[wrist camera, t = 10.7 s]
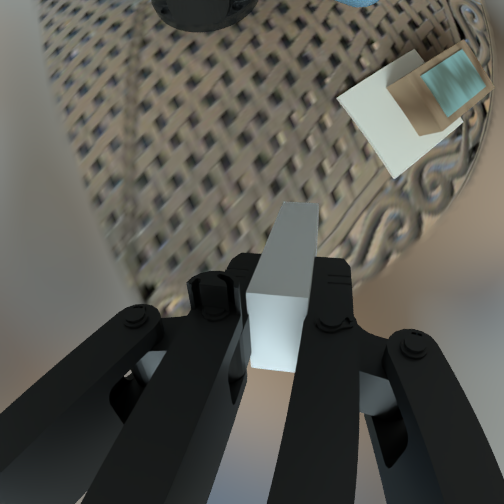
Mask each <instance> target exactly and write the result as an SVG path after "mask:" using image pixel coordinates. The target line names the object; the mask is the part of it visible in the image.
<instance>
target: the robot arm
mask: <svg viewBox="0 0 504 504" xmlns="http://www.w3.org/2000/svg"><path fill="white" fill-rule="evenodd" d="M151 1H152V4H153V7H154V9H155V10H156V12H157V14H158V15H159V17H160V18H161V19H162V20H163V21H164V22H165V23H167V24H168V25H170V26H172V27H174V28H176V29H179V30H183V31H188V32H208V31H215V30H219V29H222V28H225V27H228V26H231V25H233V24H235V23H237V22H238V21H240V20H242V19H243V18H244V17H246V16H247V15H248V14H249V13H250V12H251V11H252V10H253V9H254V7H255V6H256V4H257V2H258V0H151ZM335 1H338V2H341V3H344V4H346V5H349V6H352V7H367V6H370V5H372V4H374V3H376V2H377V1H379V0H335ZM318 215H319V203H300V202H283V204H282V206H281V209H280V211H279V213H278V216H277V218H276V221H275V223H274V226H273V228H272V231H271V233H270V235H269V238H268V240H267V243H266V245H265V248H264V250H263V252H262V254H254V253H240V254H239V255H237V256H236V257H235V258H233V259H232V260H231V262H230V263H229V265H228V267H227V270H225V272H223V271H208V272H204V273H200V274H198V275H196V276H194V277H192V278H191V279H190V280H189V281H188V282H187V289H188V294H189V299H190V304H191V311H190V312H189V314H188V315H187V316H181V317H171V318H161V316H160V313H159V311H158V309H157V308H155V307H153V306H152V305H147V304H137V305H133V306H130V307H127V308H125V309H123V310H122V311H120V312H119V313H118V314H116V315H115V316H114V317H113V318H111V319H110V320H109V321H108V322H107V323H105V324H104V325H103V326H102V327H100V328H99V329H98V330H97V331H96V332H94V333H93V334H92V335H91V336H90V337H88V338H87V339H86V340H85V341H84V342H82V343H81V344H80V345H79V346H78V347H76V348H75V349H74V350H73V351H72V352H70V354H68V355H67V356H66V357H65V358H63V359H62V360H61V361H60V362H59V363H58V364H56V365H55V366H54V367H53V368H52V369H51V370H49V371H48V372H47V373H46V374H45V375H44V376H42V377H41V378H40V379H39V380H38V381H37V382H36V383H34V385H32V386H31V387H30V388H29V389H28V390H26V391H25V392H24V393H23V394H22V395H21V396H20V397H19V398H18V399H16V400H15V401H14V402H13V403H12V404H11V405H10V406H9V407H7V408H6V409H5V410H4V411H3V412H2V413H1V414H0V504H75V503H76V502H77V501H78V500H79V499H80V498H81V497H82V496H83V495H84V494H85V492H86V491H87V490H88V491H87V493H86V495H85V497H84V499H83V500H82V502H81V504H206V503H207V500H208V498H209V495H210V492H211V489H212V486H213V483H214V480H215V477H216V474H217V472H218V468H219V466H220V463H221V460H222V457H223V454H224V451H225V448H226V445H227V442H228V439H229V436H230V433H231V429H232V427H233V424H234V421H235V417H236V414H237V411H238V408H239V405H240V402H241V399H242V395H243V392H244V389H245V386H246V383H247V365H248V362H249V359H251V367H254V368H261V369H269V370H277V371H286V372H295V376H294V381H293V386H292V392H291V397H290V402H289V407H288V412H287V417H286V422H285V427H284V432H283V436H282V441H281V445H280V450H279V454H278V459H277V463H276V467H275V472H274V476H273V480H272V485H271V488H270V492H269V497H268V500H267V504H354V499H355V489H356V476H357V462H358V444H359V412H362V413H364V417H365V420H366V424H367V427H368V431H369V435H370V438H371V442H372V445H373V449H374V453H375V457H376V461H377V465H378V469H379V473H380V477H381V481H382V485H383V490H384V494H385V498H386V503H387V504H504V479H503V476H502V473H501V471H500V468H499V466H498V463H497V461H496V459H495V456H494V454H493V452H492V449H491V447H490V445H489V443H488V440H487V438H486V436H485V434H484V431H483V429H482V427H481V425H480V423H479V421H478V419H477V417H476V415H475V413H474V411H473V408H472V407H471V405H470V403H469V401H468V399H467V397H466V395H465V393H464V391H463V389H462V387H461V386H460V383H459V381H458V380H457V378H456V377H455V374H454V372H453V371H452V369H451V367H450V365H449V363H448V362H447V360H446V358H445V356H444V355H443V353H442V351H441V349H440V348H439V346H438V344H437V343H436V342H435V341H434V339H433V338H432V337H431V336H429V335H428V334H426V333H424V332H422V331H419V330H415V329H403V330H400V331H396V332H395V333H393V334H392V335H391V336H390V337H389V339H385V338H382V337H378V336H375V335H373V334H370V333H368V332H366V331H365V330H363V329H362V328H361V327H360V326H359V325H358V324H357V321H356V319H355V317H354V314H353V297H352V282H351V269H350V266H349V265H348V263H347V262H346V261H345V260H344V259H342V258H328V257H316V255H317V237H318ZM130 369H131V371H132V373H131V374H130V375H129V376H127V377H124V375H125V374H126V373H127V372H128V371H129V370H130Z"/></svg>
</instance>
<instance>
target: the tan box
mask: <svg viewBox="0 0 504 504" xmlns="http://www.w3.org/2000/svg"><path fill="white" fill-rule="evenodd" d="M494 88H495V87H494V86H493V84H492V82H491V81H490V79H489V77H488V76H487V74H486V72H485V71H484V69H483V67H482V66H481V64H480V63H479V61H478V60H477V58H476V57H475V55H474V54H473V52H472V51H471V49H470V48H469V46H468V45H467V43H466V42H465V41H464V40H462V41H460V42H458V43H456V44H455V45H453V46H451V47H449V48H448V49H446V50H444V51H443V52H441V53H439V54H438V55H436V56H434V57H433V58H431V59H430V60H428V61H426V62H425V63H423V64H422V65H420V66H419V67H417V68H416V69H414V70H412V71H411V72H409V73H408V74H406V75H405V76H403V77H402V78H400V79H399V80H397V81H396V82H394V83H393V84H391V85H390V86H388V87H387V88H386V89H387V90H388V91H389V93H390V94H391V96H392V97H393V98H394V100H395V101H396V102H397V104H398V105H399V107H400V108H401V110H402V111H403V113H404V114H405V115H406V117H407V118H408V120H409V121H410V123H411V124H412V126H413V128H414V129H415V131H416V132H417V134H418V135H419V136H423V135H428V134H433V133H438V132H442V131H444V130H445V129H446V128H447V127H448V126H450V125H451V124H452V123H453V122H455V121H456V120H457V119H458V118H459V117H461V116H462V115H463V114H464V113H465V112H467V111H468V110H469V109H470V108H471V107H472V106H474V105H475V104H476V103H477V102H478V101H480V100H481V99H482V98H483V97H484V96H485V95H487V94H488V93H489V92H490V91H491V90H493V89H494Z"/></svg>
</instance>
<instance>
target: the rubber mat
mask: <svg viewBox="0 0 504 504" xmlns="http://www.w3.org/2000/svg"><path fill="white" fill-rule="evenodd" d="M423 63H425V62H424V61H423V59H422V58H421V57H420V55H419V54H418V53H417V51H416V50H415V49H413V50H412V51H410V52H408V53H407V54H405V55H403V56H402V57H400V58H398V59H397V60H395V61H393V62H392V63H390V64H388V65H387V66H385V67H384V68H382V69H380V70H379V71H377V72H376V73H374V74H372V75H371V76H369V77H368V78H366V79H365V80H363V81H361V82H360V83H358V84H357V85H355V86H354V87H352V88H351V89H349V90H348V91H346V92H345V93H343V94H342V95H340V96H339V97H337V98H336V99H337V100H338V101H339V102H340V104H341V105H342V106H343V108H344V109H345V110H346V111H347V113H348V114H349V115H350V117H351V118H352V119H353V121H354V122H355V123H356V125H357V126H358V128H359V129H360V130H361V132H362V133H363V134H364V136H365V137H366V139H367V140H368V142H369V143H370V144H371V146H372V147H373V149H374V150H375V152H376V153H377V155H378V156H379V158H380V159H381V161H382V162H383V164H384V165H385V167H386V168H387V170H388V171H389V173H390V175H391V176H392V178H393V179H395V178H396V177H398V176H399V175H400V174H401V173H403V172H404V171H405V170H406V169H408V168H409V167H410V166H411V165H412V164H414V163H415V162H416V161H417V160H419V159H420V158H421V157H422V156H423V155H425V154H426V153H427V152H428V151H429V150H431V149H432V148H433V147H434V146H435V145H437V144H438V143H439V142H440V141H441V140H443V139H444V138H445V137H446V136H447V135H449V134H450V133H451V132H452V131H453V130H455V129H456V128H457V127H458V126H459V125H460V124H462V123H463V120H462V119H461V117H459V118H458V119H457V120H456V121H455V122H453V123H452V124H451V125H450V126H448V127H447V128H446V129H445V130H444V131H442V132H438V133H433V134H428V135H423V136H419V135H418V134H417V132H416V131H415V129H414V128H413V126H412V124H411V123H410V121H409V120H408V118H407V117H406V115H405V114H404V113H403V111H402V110H401V108H400V107H399V105H398V104H397V102H396V101H395V100H394V98H393V97H392V96H391V94H390V93H389V91H388V90H387V89H386V88H387V87H388V86H390V85H391V84H393V83H394V82H396V81H397V80H399V79H400V78H402V77H403V76H405V75H406V74H408V73H409V72H411V71H412V70H414V69H416V68H417V67H419V66H420V65H422V64H423Z"/></svg>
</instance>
